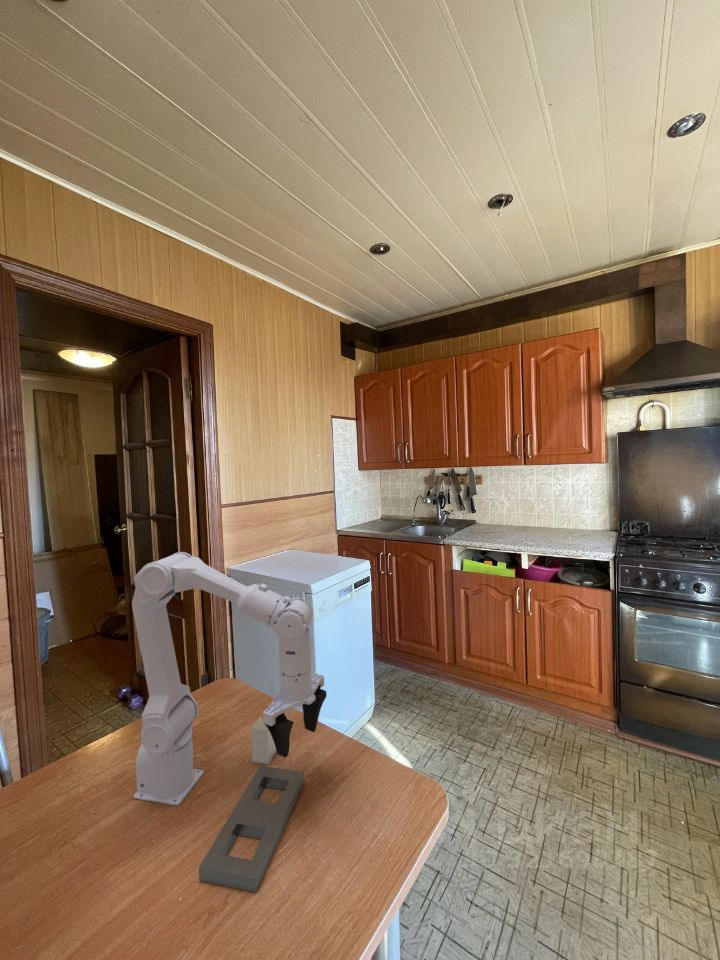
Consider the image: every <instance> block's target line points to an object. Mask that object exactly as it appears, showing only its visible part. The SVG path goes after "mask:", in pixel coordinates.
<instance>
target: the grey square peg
mask: <svg viewBox="0 0 720 960" xmlns="http://www.w3.org/2000/svg"><path fill="white" fill-rule="evenodd" d="M250 732H251V755H252V756H251V757H252V763H258V764H265V765H269V764H271V762H272V760H273V759H274V756H275V754H277V751H276V747H275V744H274V741H273V738H272V736H271V734H270V732H269V730H268V728H267V727H266V725H265V724H264V723H263V717H258V719H257V720H256V722H255V723H254V724H253V726H252V727H251V730H250Z"/></svg>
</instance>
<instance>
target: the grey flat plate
mask: <svg viewBox="0 0 720 960" xmlns="http://www.w3.org/2000/svg"><path fill="white" fill-rule="evenodd" d="M304 783H305V771H301V770H295V769H287V768H279V767H278V768H277V767H271V766H265V765H264V766H263V765H260V766H259V767H258V769H257V770H256V771H255V773H254V775H253V777H252V779H251V780H250V782H249V784H248V785H247V787H246V789H245V790H244V792H243V793H242V795H241V797H240V799H239V800H238V802H237V803H236V804H235V807H234V809H233V810H232V811H231V813H230V815H229V816H228V818H227V820H226V822H225V823H224V826H223V827H222V828H221V830H220V832H219V833H218V834H217V837H216V838H215V840H214V841H213V843H212V844H211V846H210V848H209V849H208V852H207V853H206V855H205V856H204V859H203V860H202V862H201V863H200V865H199V866H198V881H199V882H203V883H206V884H212V885H218V886H222V887H226V888H227V887H228V888H233V889H236V890H242V891H247V892H251V893H257V892H258V890H259V888H260V885H261V883H262V880H263V878H264V876H265V874H266V871H267V869H268V867H269V864H270V863H271V859H272V858H273V855H274V852H275V850H276V848H277V846H278V844H279V842H280V839H281V837H282V834H283V832H284V830H285V827H286V825H287V823H288V820H289V818H290V816H291V814H292V811H293V809H294V807H295V804H296V803H297V799H298V797H299V795H300V793H301V791H302V788H303V786H304ZM264 788H269V789H276V790H284V791H283V794H281V795H282V796H281V797H280V800H279V802H278V803H277V802H271V801H270V802H269V801H264V800H258V799H259V797H260V795H261V794H262V792H263V790H264ZM239 836H240V837H245V838H249V839H250V838H251V839H257V840H260V841H259V843H258V845H257V847H256V850H255V852H254V854H253V856H252V858H251V859H249V858H242V857H238V856H232V855H228V853H229V851H230V850H231V848H232V846H233V845H234V843H235V841H236V840H237V837H239Z"/></svg>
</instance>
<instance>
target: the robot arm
mask: <svg viewBox="0 0 720 960" xmlns="http://www.w3.org/2000/svg"><path fill="white" fill-rule="evenodd" d="M133 583H134V587H135V589H134V594H133V598H132V600H131V607H132V612H133V613H132V614H133V618H134V624H135V629H136V634H137V639H138V640H137V641H138V645H139V649H140V650H139V651H140V654H141V659H142V665H143V670H144V674H145V675H144V676H145V680H146V685H147V691H148V699H147V703H145V707H144V709H143V712H142V714H141V721H142V722H141V723H142V728H141V731H140V742H141V745H140V746H139V749H138V751H137V754H136V759H135V774H136V775H135V776H136V792H135V793H134V794H133V799H135V800H141V801H147V802H153V803H158V804H165V805H171V806H179V805H180V804H181V803H182V801H183V800H184V799H185V798H186V797H187V795H188V794H189V793H190V792H191V790H192V789H193V787H195V785H196V784H197V783H198V781H199V779H201V777H202V776H203V774H204V770H202V769H198V768H194V752H193V747H194V746H193V722H194V721H195V719H196V718H197V716H198V713H199V705H198V703H197V700H196V698H194V696H193V695H192V692H191V688H190V686H189V685H186V684H183V683H182V682H181V678H180V672H179V666H178V662H177V656H176V651H175V645H174V642H173V641H174V639H173V635H172V631H171V624H170V619H169V615H168V610H167V604H168V603H169V602H170V600H171V599H172V598H173V596H175V594H176V593H181V592H185V591H190V590H194V589H198V590H201V591H203V592H205V593H206V592H207V593H209V594H211V595H215V596H216V597H219V598H222V599H225V600H227V601H229V602H232V603H233V604H236V606H237V608H238V611H239V613H240V614H242V615H244V616H245V617H248V618H250V619H252V620H254V621H256V622H259V623H261V624H263V625H265V626H267V627H269V628H271V629H273V633H274V634H275V636H276V637H277V639H278V665H279V666H278V669H279V671H278V673H279V676H278V677H279V692H278V693H277V694H276V696H275V697H274V699H273V700H272V702H271V703H270V704H269V705H268V707H266V708H265V709H264V710H263V711H262V718H263V723H264V724H265V725H266V727H267V728H268V730H269V732H270V734H271V736H272V738H273V741H274V744H275V747H276V754H277V755H278V756H281V757H282V758H287V757H288V756H289V754H290V753H289V751H290V737H291V732H292V728H293V725H294V721H293V720H290V719H288V718H287V716H286V715H285V714H286V713H287V712H289V711H291V710H293V709H295V708H298V707H302V713H303V724H304V729H305V730H308V731H310V732H312V733H315V731H316V730H317V725H318V720H319V716H320V712H321V708H322V706H323V704H324V701H325V700H326V698H327V691H326V690H325V689H322V688H323V687H324V686H325V676H324V675H322V674H319V673H317V672H316V673H314V674H313V675H312V665H311V664H312V660H311V641H310V639H311V638H310V637H311V636H310V628H309V625H310V623H311V622H312V620H313V609H312V607H311V606H310V604H309V603H308V602H307V601H305V600H304V599H303V598H302V597H293V598H291V597H290V596H288V595H285V596H284V595H281V594H279V593H278V592H275V591H273V590H271V589H268V585H267V584H265V583H262V582H261V584H258V583H253V584H251V585H247V586H246V585H245V584H243V583H242V582H239V581H237V580H235V579H233V578H232V577H230V576H228V575H226V574H224V573H222V572H221V571H218V570H217V569H215V568H213V567H211V566H209V565H207V564H206V563H205V562H204V561H203V560H202V559H201V558H200V557H197V556H192V555H191V554H189V553H188V552H184V551H178V552H175V553H173V554H171V555H169V556H167V557H163V558H161V559H159V560H156V561H152V562H148V563H147V564H145V565H144V566H143V567H141V569H140V570H138V572H137V573H136V574H135V576H134V577H133Z"/></svg>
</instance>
